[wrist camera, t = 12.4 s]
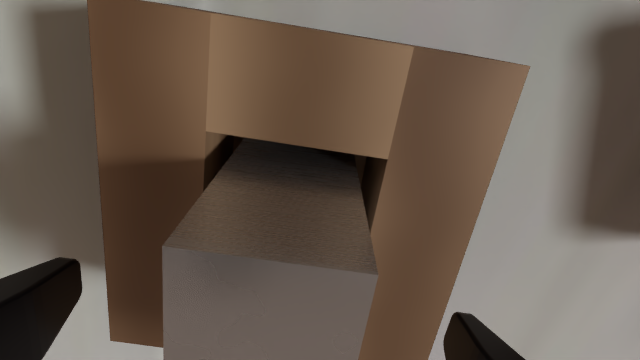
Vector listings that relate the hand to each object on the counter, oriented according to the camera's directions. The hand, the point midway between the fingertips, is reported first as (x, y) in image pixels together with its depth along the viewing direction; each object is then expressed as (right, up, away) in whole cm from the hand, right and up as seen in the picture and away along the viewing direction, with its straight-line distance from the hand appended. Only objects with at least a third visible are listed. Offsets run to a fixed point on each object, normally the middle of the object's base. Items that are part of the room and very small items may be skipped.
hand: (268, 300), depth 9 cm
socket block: (0, +3, +8) cm, 9 cm away
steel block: (0, +3, +7) cm, 8 cm away
